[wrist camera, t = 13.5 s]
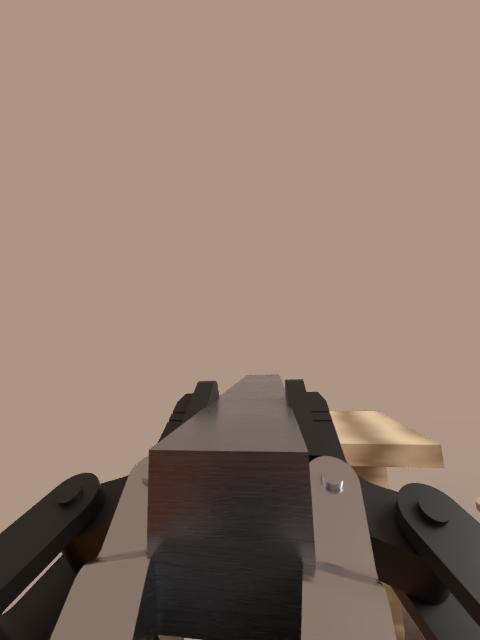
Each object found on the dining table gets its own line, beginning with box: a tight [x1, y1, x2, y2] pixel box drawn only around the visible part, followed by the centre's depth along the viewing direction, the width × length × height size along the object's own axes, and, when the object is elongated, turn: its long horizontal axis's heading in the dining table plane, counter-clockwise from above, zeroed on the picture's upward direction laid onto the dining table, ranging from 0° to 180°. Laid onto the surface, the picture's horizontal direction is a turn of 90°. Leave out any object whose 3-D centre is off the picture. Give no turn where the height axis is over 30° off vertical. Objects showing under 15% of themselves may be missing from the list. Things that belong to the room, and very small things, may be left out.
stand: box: [329, 411, 444, 640], centre depth 28 cm, size 10×15×32 cm, turn 172°
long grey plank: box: [147, 375, 316, 640], centre depth 14 cm, size 3×19×3 cm, turn 173°
